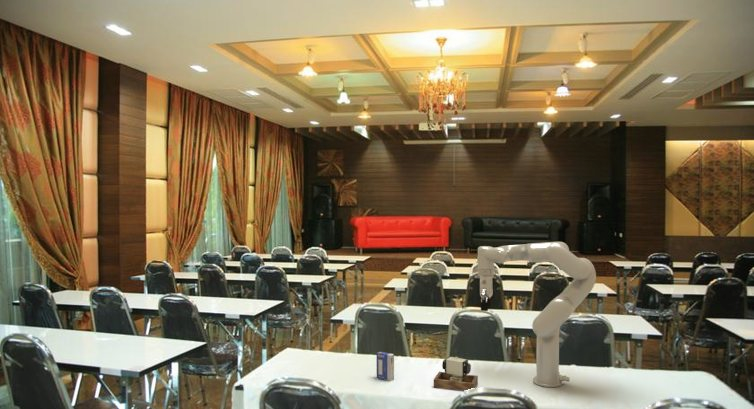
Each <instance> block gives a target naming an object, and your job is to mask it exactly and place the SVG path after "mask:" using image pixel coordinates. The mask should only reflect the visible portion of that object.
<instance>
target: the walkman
mask: <svg viewBox="0 0 754 409" xmlns="http://www.w3.org/2000/svg"><path fill="white" fill-rule="evenodd" d="M376 379H379V380H382V381H388V382H393V381H394V380H395V354H393V353H390V352H389V353H388V352H384V351H378V352H376Z"/></svg>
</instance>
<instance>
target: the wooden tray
mask: <svg viewBox="0 0 754 409" xmlns="http://www.w3.org/2000/svg"><path fill="white" fill-rule="evenodd" d="M452 376H453V375H452V374H447V373H445V371H438V373H437V375H435V377H434V378H433V388H435V389H443V390H451V391H452V390H453V391H459V392H460V391H461V392H465V391H464V390H468V389H471V388H475V387H476V388H477V386H478V383H479V380H478V379H479V378H478V375H476V374H467V375H466V376H464V377H463V376H461V377H462V379H463V382H460V381H451V380H450V377H452ZM476 388H475V389H476Z"/></svg>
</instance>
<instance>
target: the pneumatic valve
mask: <svg viewBox="0 0 754 409" xmlns="http://www.w3.org/2000/svg"><path fill="white" fill-rule="evenodd" d="M441 366H442V369H443V370H444V372H445V373H447V374H452V375H453V376H452V377H450V380H451V381H460V382H463V379H462V377H461V376H463V377H464V376H466V375H470V373H471V370H472V369H471V368H472V365H471V364H470V363H469V360H468V359H466V358H461V357H458V356H455V357H454V356H448V357H447V358H445V359H443V361H442V364H441Z"/></svg>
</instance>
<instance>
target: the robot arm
mask: <svg viewBox="0 0 754 409" xmlns="http://www.w3.org/2000/svg"><path fill="white" fill-rule="evenodd" d="M514 261H527V262H530V263H543V262H545V263H546V262H551V263H552V264H553V265H555V266H556V267H557V268H558V269H560V270H561V271H562V272H563V273H565V274H566V275H568V276H569V277H571V278H572V279H573V280H572V281H571V282H570V283H569V284H568V285H567V286H566V287H565V289H564V290H562V292H561V293H560V294H558V295H557V296H555V297H554V298H553V299H552V300H551V301H550V302H549V303H548V304H547V305H546V306H545V308H544V309H542V310H541V311H540V312H539V314H538V315H537V316H536V317H535V318H534V319H533V321H532V324H531V327H532V331H533V333H534V334H535V335H536V349H535V350H536V358H535V359H536V368H535V369H536V371H535V372H536V373H535V374H536V376H534V377H532V382H533V383H534V384H535V385H538V386H540V387H545V388H558V387H562V385H563V382H567V383H569V382H570V380H571V378H570V376H567V375H562V374H560V329H561V327H562V325H563V324H564V323H565V322H566V321H567V320H568V319H569V318H570V317H571V315H573V314H574V311H575V310H576V309H577V308H578V307H579V305H581V303H582V302H583V301H584V300H585V299H586V298H587V297H588V295H589V294H590V292H592V290H593V288H594V286H595V284H596V280H597V272H596V268H595V266H594V265H593V263H592V261H591V260H589V259H588V258H587V257H586V258H585V257H577V255H575V254H574V253H573V252H571V251H570V248H569V246H568V245H567V243H565V242H563V241H548V242H547V241H546V242H533V243H526V244H510V245H500V246H498V247H496V246H495V247H493V246H489V245H488V246H487V245H483V246H482V245H480V246H479V247H477V277H479V296H480V297H481V298H480V311H482V312H488V311H489V308H490V307H491V297H492V296H493V292H494V290H493V277H494V276H495V264H504V263H507V262H514Z"/></svg>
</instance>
